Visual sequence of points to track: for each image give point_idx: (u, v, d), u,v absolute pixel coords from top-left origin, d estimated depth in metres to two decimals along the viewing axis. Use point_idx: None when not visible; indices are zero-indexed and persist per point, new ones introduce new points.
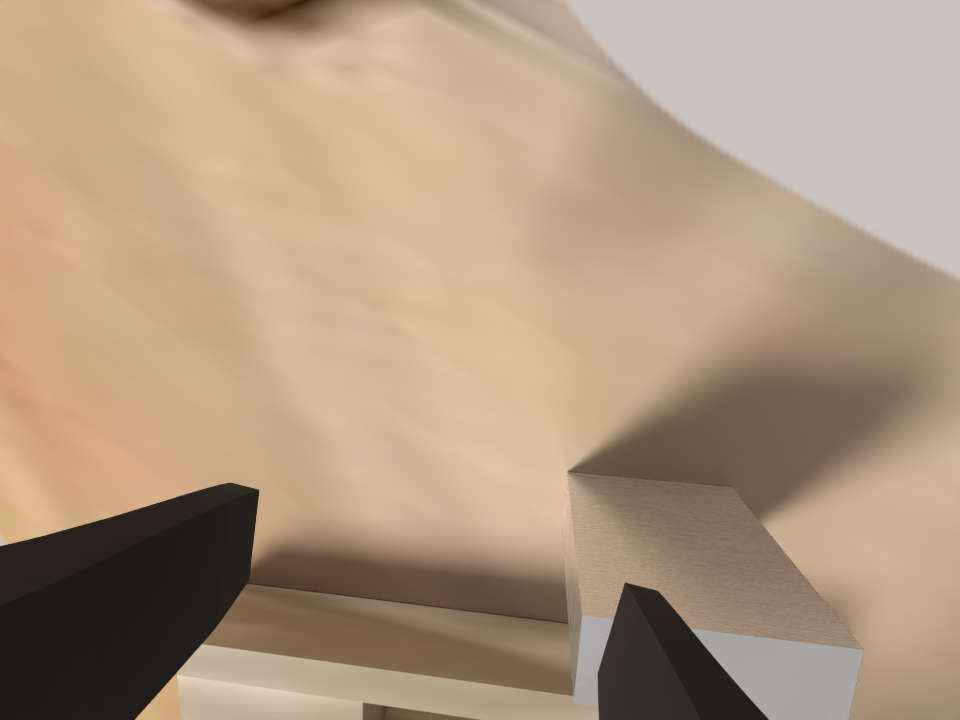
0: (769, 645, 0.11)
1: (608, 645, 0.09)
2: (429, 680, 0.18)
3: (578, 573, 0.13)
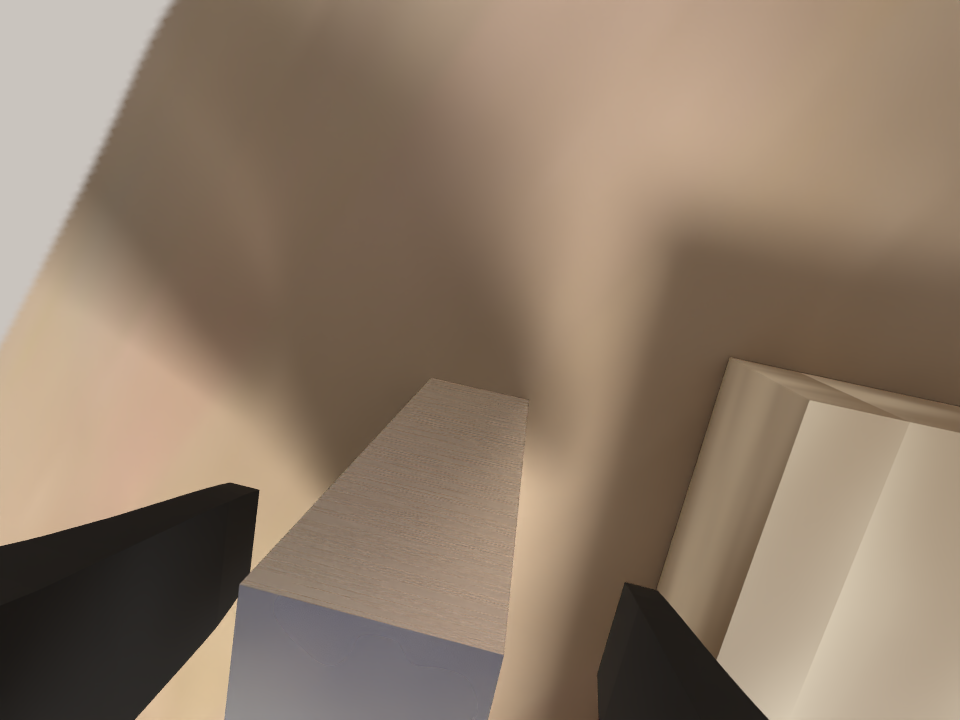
0: None
1: (608, 645, 0.09)
2: None
3: None
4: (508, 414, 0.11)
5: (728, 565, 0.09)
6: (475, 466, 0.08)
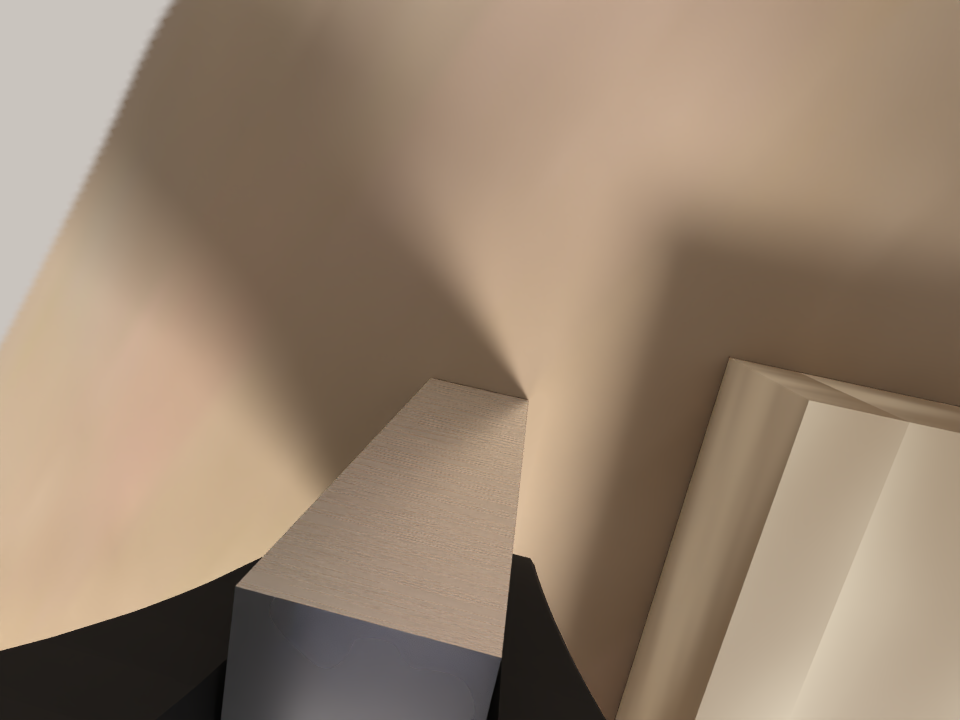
0: None
1: None
2: None
3: None
4: (508, 414, 0.11)
5: (728, 565, 0.09)
6: (474, 466, 0.08)
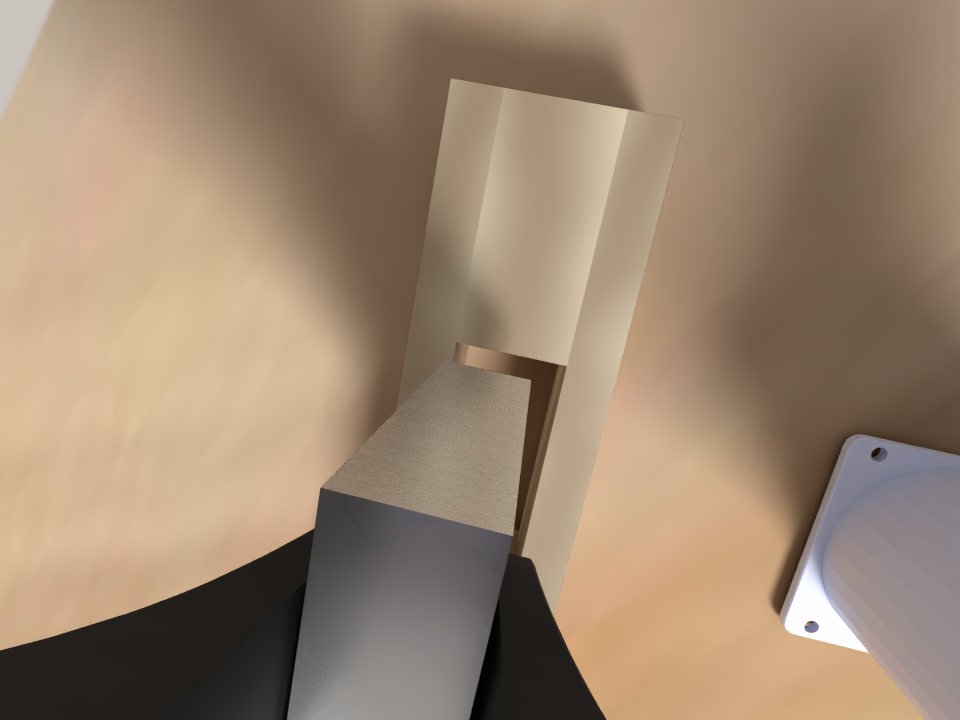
0: (313, 624, 0.07)
1: None
2: None
3: None
4: (513, 389, 0.12)
5: None
6: (486, 424, 0.10)
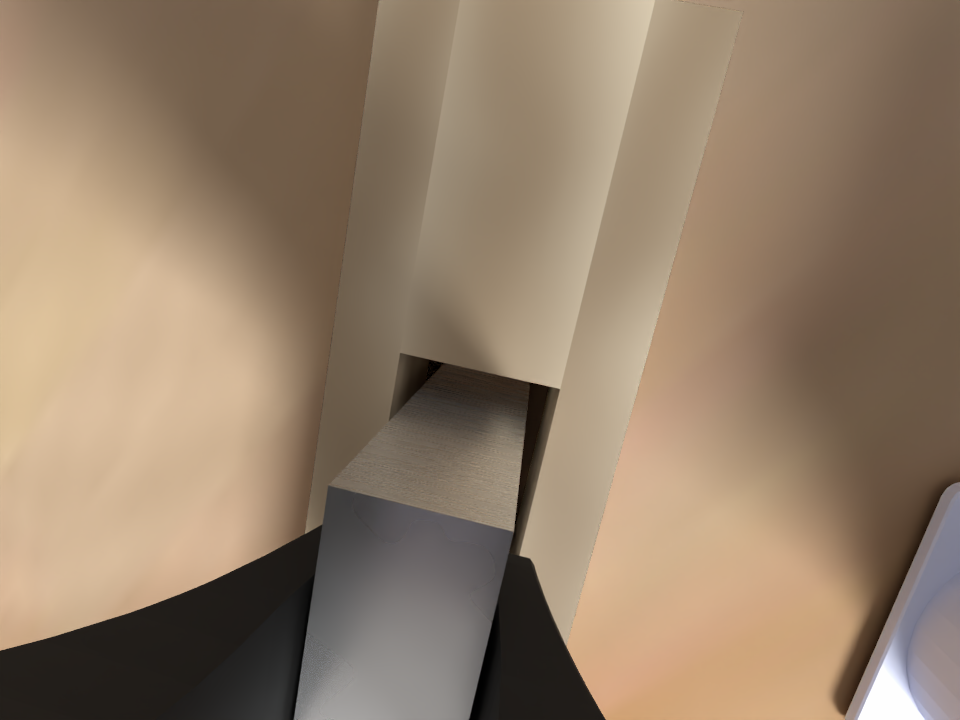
0: (322, 617, 0.07)
1: None
2: None
3: None
4: (513, 389, 0.13)
5: None
6: (487, 424, 0.10)
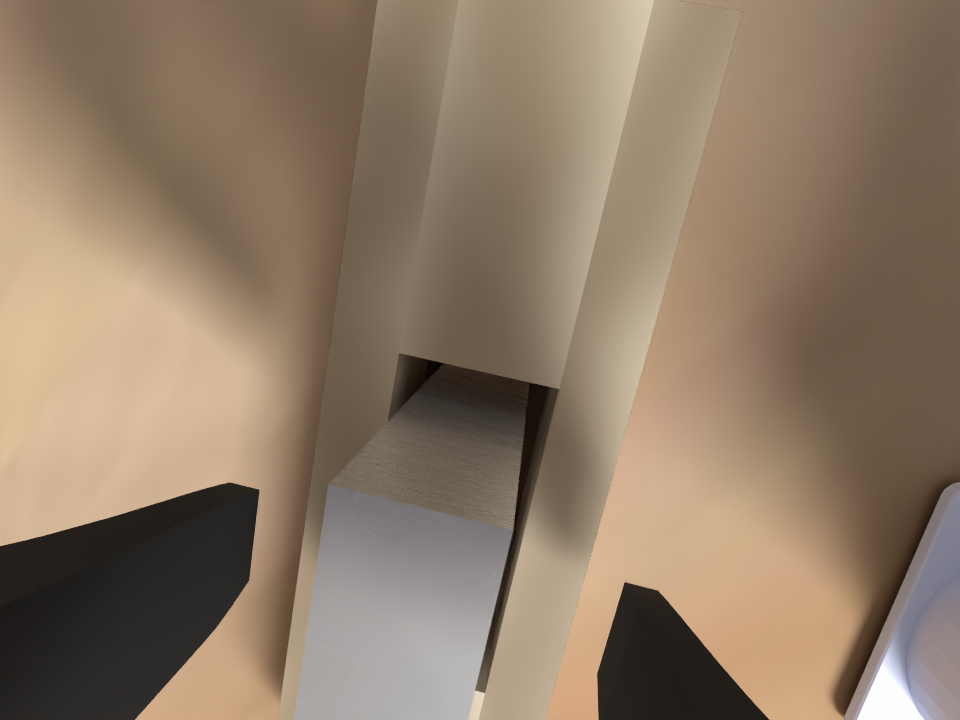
0: (321, 616, 0.07)
1: (608, 645, 0.09)
2: (307, 554, 0.12)
3: None
4: (512, 389, 0.13)
5: None
6: (487, 424, 0.10)
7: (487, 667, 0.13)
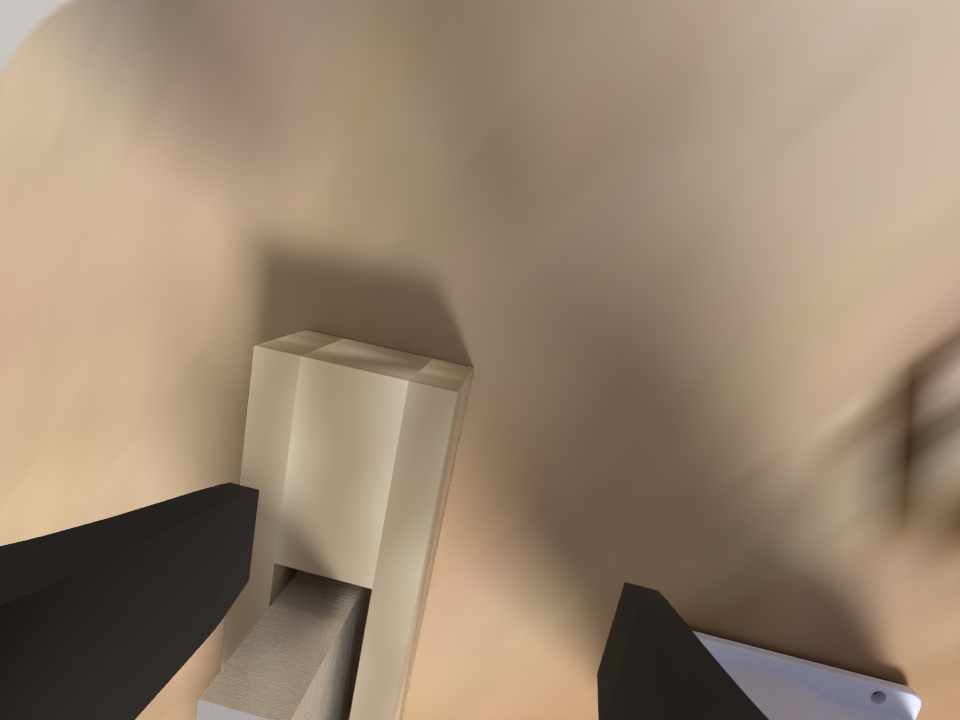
0: None
1: (608, 645, 0.09)
2: None
3: None
4: None
5: None
6: (322, 616, 0.16)
7: None
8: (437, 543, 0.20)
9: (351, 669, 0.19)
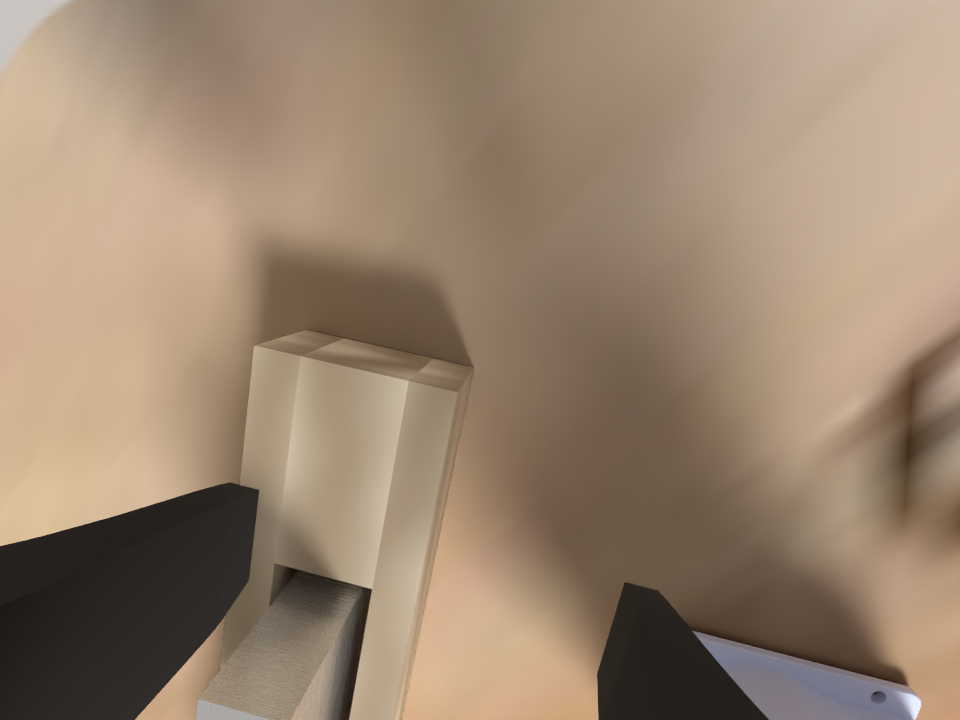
0: None
1: (608, 645, 0.09)
2: None
3: None
4: None
5: None
6: (322, 616, 0.16)
7: None
8: (437, 543, 0.20)
9: (351, 669, 0.19)
